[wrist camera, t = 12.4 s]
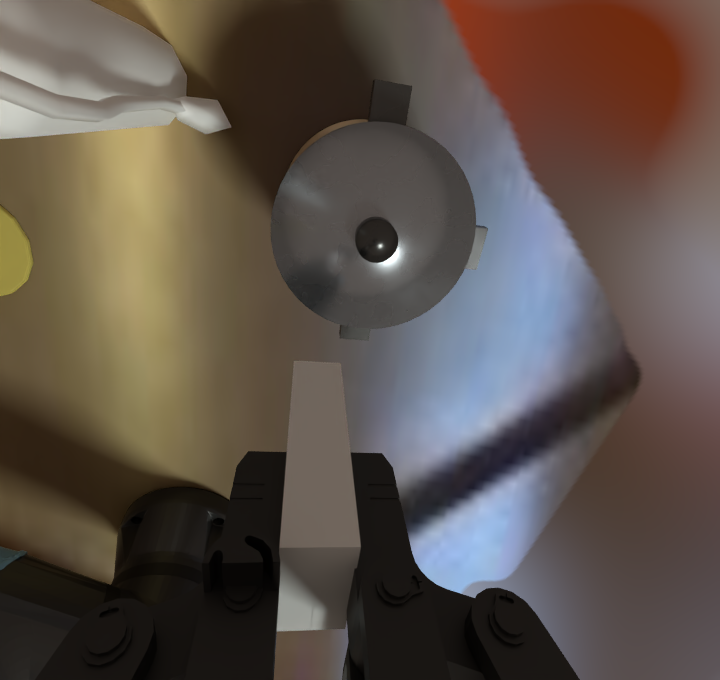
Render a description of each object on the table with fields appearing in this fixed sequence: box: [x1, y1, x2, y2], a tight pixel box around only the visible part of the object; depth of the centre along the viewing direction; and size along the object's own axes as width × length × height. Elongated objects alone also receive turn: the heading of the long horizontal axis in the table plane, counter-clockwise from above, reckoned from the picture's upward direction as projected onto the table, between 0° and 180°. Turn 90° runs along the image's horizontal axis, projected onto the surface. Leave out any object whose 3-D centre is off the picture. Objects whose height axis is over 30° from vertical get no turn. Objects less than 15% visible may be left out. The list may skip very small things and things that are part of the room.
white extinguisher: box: [0, 0, 231, 139], centre depth 20 cm, size 7×12×25 cm, turn 60°
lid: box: [271, 121, 488, 329], centre depth 28 cm, size 15×14×2 cm
